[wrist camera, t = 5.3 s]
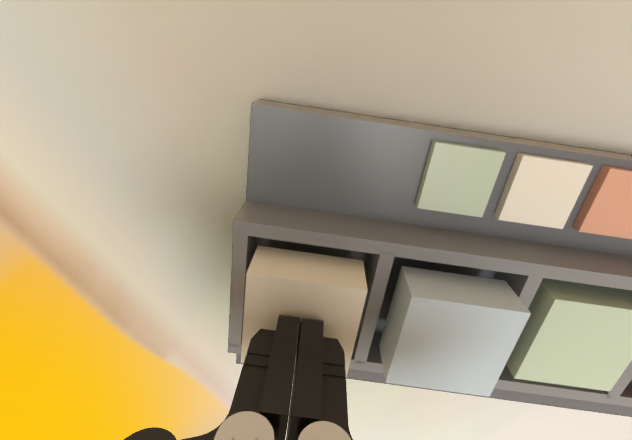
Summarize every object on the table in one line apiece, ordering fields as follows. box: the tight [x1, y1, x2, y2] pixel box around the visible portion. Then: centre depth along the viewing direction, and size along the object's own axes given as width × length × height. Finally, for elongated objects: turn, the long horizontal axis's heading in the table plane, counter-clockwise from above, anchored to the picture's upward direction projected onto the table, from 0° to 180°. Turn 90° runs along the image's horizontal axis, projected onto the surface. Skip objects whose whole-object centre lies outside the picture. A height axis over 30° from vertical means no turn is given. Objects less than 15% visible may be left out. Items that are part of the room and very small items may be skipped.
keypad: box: [228, 100, 632, 417], centre depth 14 cm, size 12×21×3 cm, turn 82°
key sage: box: [506, 278, 632, 391], centre depth 14 cm, size 4×4×2 cm
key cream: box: [241, 246, 368, 377], centre depth 12 cm, size 4×4×2 cm
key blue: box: [379, 266, 531, 397], centre depth 13 cm, size 4×4×2 cm
